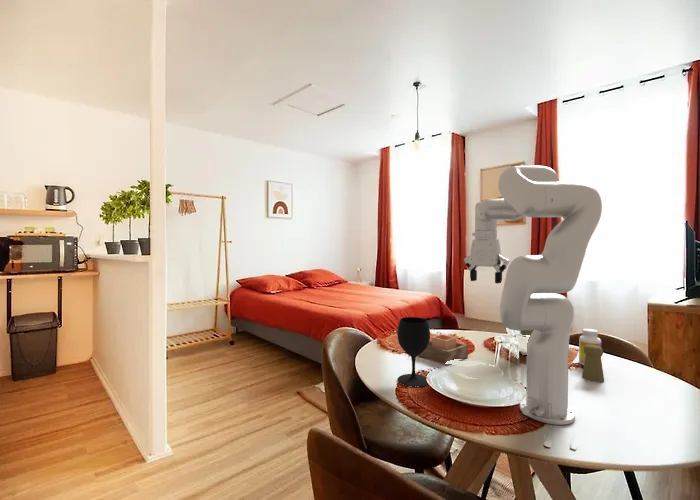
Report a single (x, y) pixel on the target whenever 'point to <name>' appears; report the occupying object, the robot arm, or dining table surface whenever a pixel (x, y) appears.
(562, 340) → the robot arm
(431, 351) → the walnut crate
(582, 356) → the supplement bottle
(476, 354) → the dining table surface
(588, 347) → the cork
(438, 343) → the terracotta crate
